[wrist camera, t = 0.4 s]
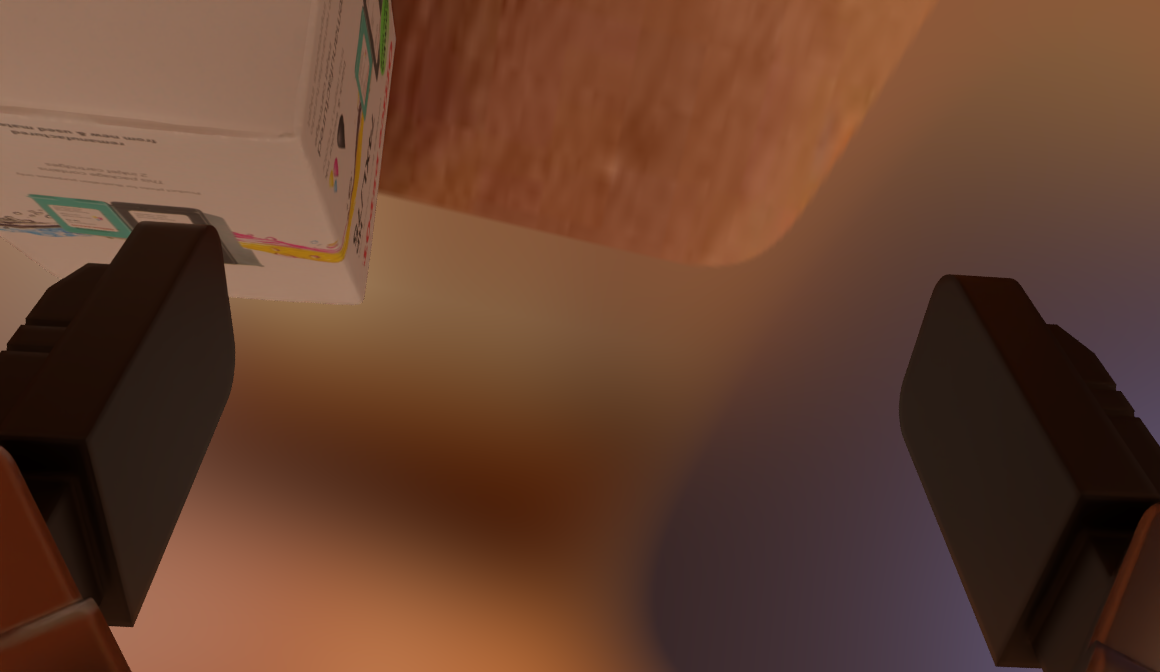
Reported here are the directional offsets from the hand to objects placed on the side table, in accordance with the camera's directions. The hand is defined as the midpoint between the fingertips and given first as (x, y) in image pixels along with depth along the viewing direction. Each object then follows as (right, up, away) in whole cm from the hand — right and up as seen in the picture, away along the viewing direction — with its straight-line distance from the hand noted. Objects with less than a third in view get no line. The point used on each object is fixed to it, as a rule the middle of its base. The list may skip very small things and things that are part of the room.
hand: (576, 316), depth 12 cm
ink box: (-8, +7, +6) cm, 13 cm away
